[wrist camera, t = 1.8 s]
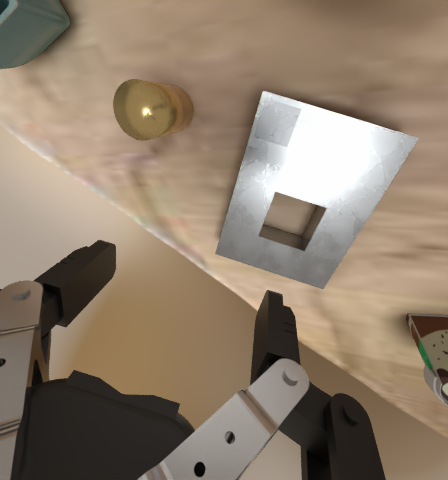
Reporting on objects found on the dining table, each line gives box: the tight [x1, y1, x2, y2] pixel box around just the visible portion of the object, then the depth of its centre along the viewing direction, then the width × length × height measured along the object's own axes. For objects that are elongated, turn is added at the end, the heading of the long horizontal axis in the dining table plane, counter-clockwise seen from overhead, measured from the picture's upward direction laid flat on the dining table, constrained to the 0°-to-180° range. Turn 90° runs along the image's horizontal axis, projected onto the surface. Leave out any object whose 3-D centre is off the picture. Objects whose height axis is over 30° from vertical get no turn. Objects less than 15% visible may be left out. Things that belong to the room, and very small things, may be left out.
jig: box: [215, 91, 419, 289], centre depth 26 cm, size 18×14×6 cm
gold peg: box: [113, 79, 193, 140], centre depth 23 cm, size 4×4×8 cm
